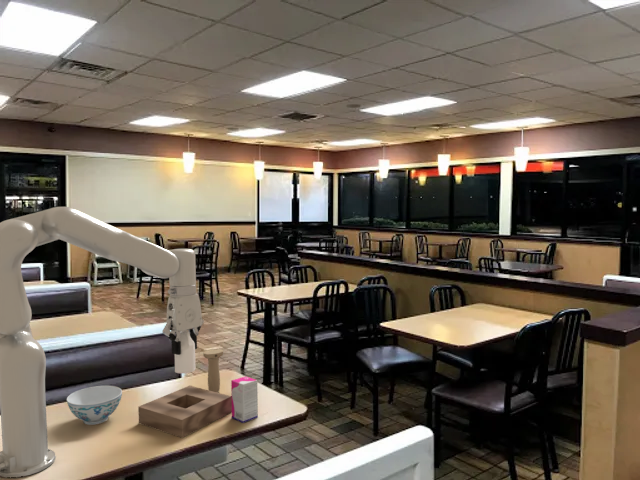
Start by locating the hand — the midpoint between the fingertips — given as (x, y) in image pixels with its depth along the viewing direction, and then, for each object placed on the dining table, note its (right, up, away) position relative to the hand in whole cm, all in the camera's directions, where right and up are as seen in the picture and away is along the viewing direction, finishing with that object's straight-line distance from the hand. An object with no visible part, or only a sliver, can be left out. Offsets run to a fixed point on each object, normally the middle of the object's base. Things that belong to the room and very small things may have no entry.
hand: (184, 350), depth 150 cm
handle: (+5, -19, +18) cm, 27 cm away
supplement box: (+18, -20, +1) cm, 27 cm away
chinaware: (-26, -21, 0) cm, 34 cm away
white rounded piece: (0, -6, 0) cm, 6 cm away
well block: (0, -20, +1) cm, 20 cm away
